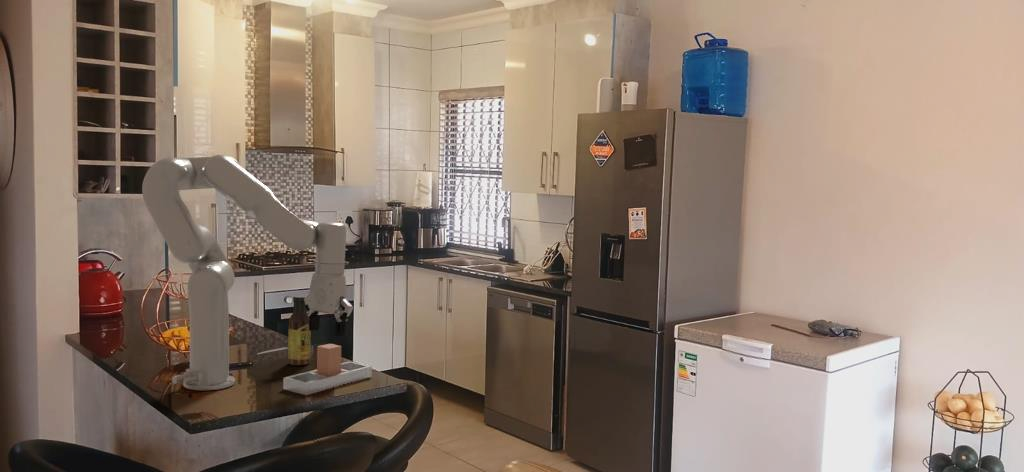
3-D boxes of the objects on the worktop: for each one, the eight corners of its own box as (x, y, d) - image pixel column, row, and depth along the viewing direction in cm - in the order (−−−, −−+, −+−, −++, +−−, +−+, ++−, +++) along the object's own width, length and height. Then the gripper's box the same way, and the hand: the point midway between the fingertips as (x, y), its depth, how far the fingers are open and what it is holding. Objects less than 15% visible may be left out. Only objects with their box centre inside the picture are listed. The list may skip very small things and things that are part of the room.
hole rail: (306, 395, 200) (306, 383, 199) (283, 389, 204) (283, 377, 204) (371, 376, 219) (371, 366, 219) (349, 371, 224) (349, 361, 224)
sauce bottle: (303, 367, 227) (304, 298, 226) (283, 365, 229) (284, 297, 227) (314, 362, 234) (314, 295, 232) (294, 360, 235) (295, 294, 234)
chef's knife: (248, 355, 242) (253, 356, 240) (248, 351, 242) (253, 352, 240) (302, 346, 256) (307, 346, 254) (302, 342, 256) (307, 343, 254)
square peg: (328, 386, 209) (328, 348, 208) (316, 383, 211) (317, 346, 210) (340, 382, 212) (341, 346, 211) (329, 379, 215) (329, 343, 214)
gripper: (296, 266, 211) (293, 329, 212) (342, 274, 201) (339, 340, 203) (317, 264, 217) (314, 326, 218) (363, 272, 208) (360, 336, 209)
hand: (326, 333), depth 210 cm, fingers open, 9 cm apart
